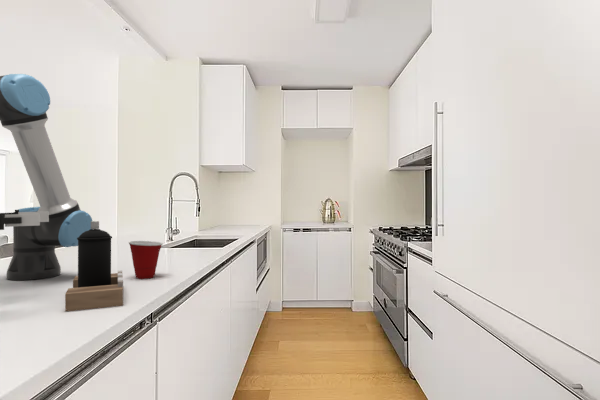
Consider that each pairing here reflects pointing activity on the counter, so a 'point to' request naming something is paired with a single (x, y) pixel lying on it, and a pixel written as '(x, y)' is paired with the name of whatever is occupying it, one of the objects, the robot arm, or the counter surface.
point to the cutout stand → (95, 295)
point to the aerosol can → (94, 257)
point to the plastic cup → (145, 258)
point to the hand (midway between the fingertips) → (44, 218)
